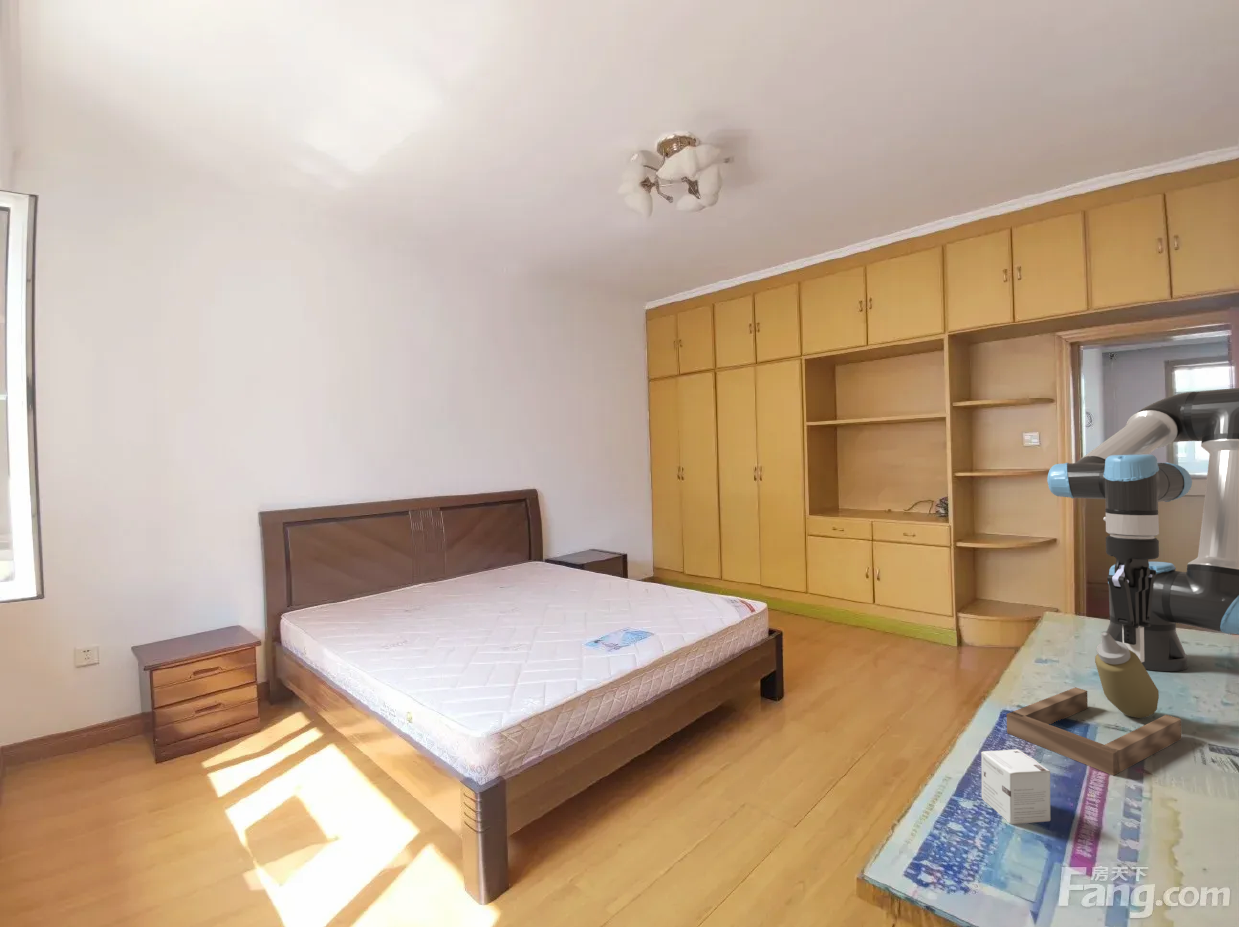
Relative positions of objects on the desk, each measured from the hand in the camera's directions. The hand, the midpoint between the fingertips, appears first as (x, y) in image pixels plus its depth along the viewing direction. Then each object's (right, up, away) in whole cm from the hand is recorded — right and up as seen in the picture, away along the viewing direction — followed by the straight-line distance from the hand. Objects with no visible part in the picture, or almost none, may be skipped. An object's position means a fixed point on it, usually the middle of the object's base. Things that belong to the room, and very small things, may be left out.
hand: (1133, 659), depth 109 cm
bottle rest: (-13, -11, -6) cm, 18 cm away
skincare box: (-41, -13, -26) cm, 50 cm away
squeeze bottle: (+1, -9, +1) cm, 9 cm away
